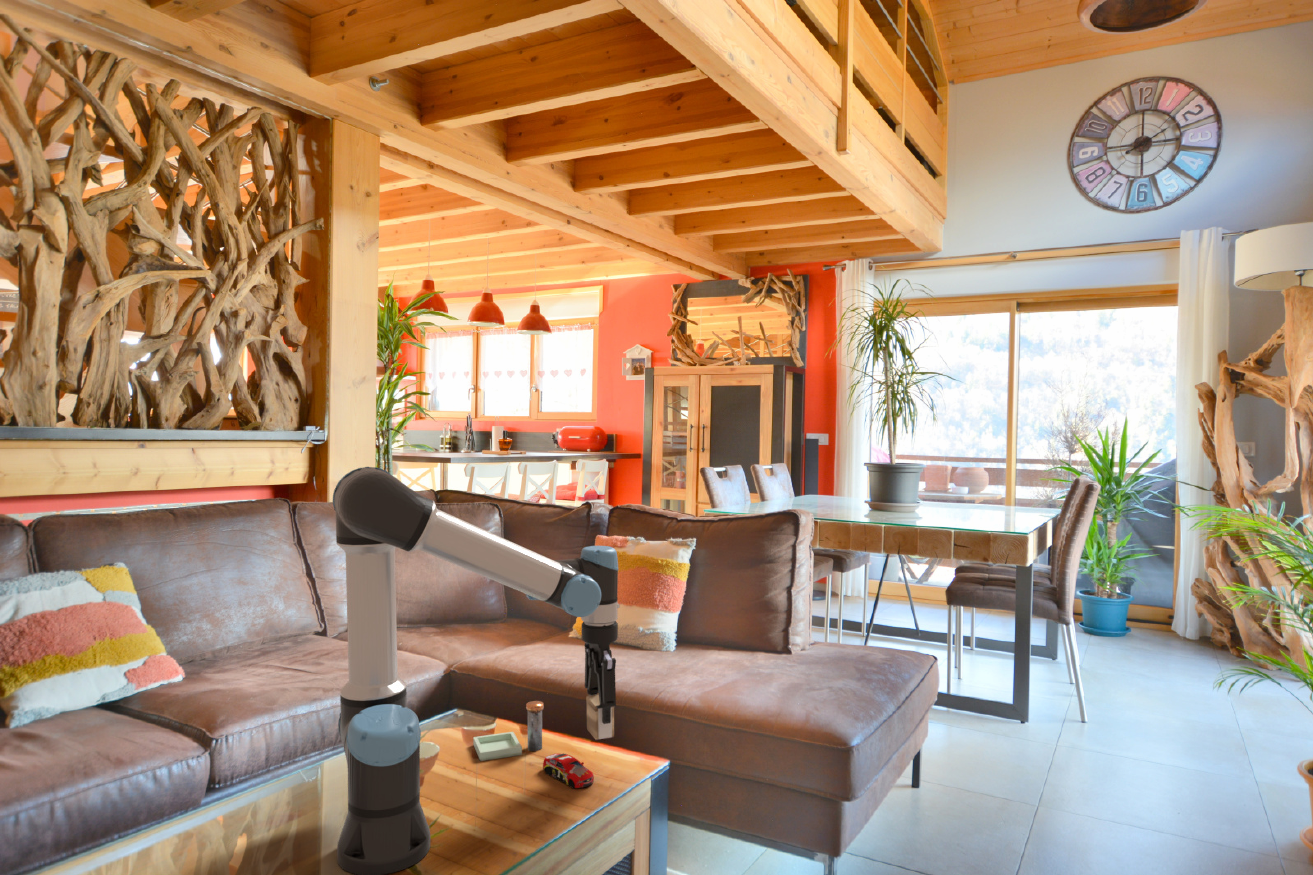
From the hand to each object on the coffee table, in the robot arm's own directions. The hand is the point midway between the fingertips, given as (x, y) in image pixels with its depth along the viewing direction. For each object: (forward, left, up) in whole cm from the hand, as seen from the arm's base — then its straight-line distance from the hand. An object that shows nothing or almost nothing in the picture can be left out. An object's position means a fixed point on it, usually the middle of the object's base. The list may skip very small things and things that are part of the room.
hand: (599, 731), depth 172 cm
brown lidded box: (0, 0, 0) cm, 0 cm away
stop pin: (-10, +17, -9) cm, 21 cm away
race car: (-7, 0, -9) cm, 11 cm away
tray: (-18, +19, -9) cm, 27 cm away
